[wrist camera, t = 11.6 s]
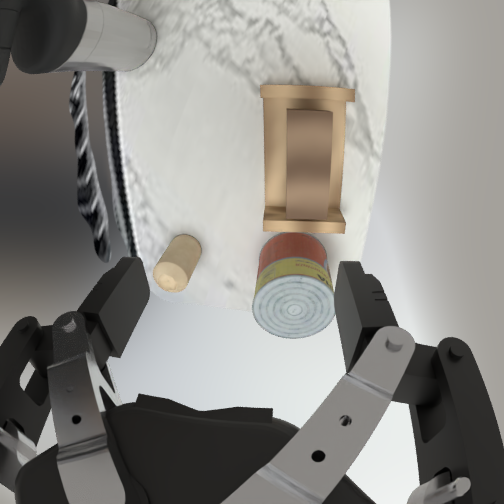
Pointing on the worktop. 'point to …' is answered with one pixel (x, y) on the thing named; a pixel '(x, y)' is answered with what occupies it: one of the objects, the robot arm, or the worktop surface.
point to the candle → (177, 263)
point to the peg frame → (276, 153)
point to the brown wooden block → (308, 163)
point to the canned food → (293, 286)
